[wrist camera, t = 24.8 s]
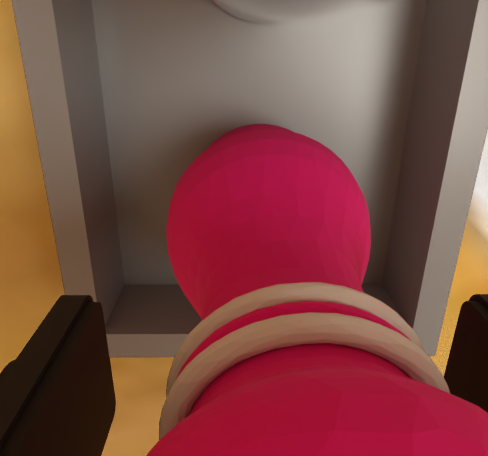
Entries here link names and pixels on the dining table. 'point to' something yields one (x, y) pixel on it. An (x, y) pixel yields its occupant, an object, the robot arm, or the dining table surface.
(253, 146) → the pepper mill
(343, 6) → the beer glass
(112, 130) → the tote
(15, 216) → the dining table surface
